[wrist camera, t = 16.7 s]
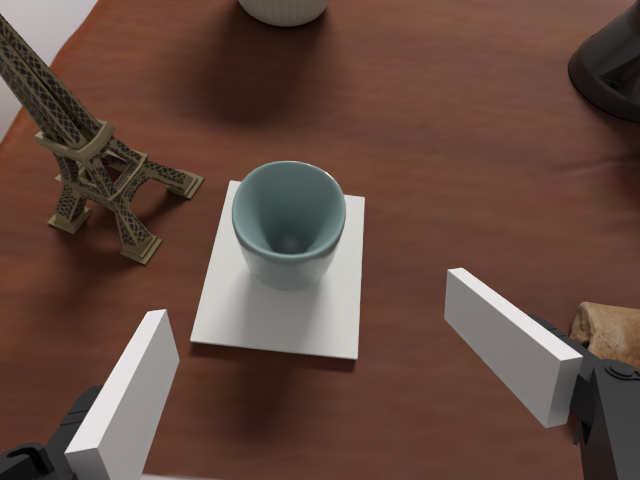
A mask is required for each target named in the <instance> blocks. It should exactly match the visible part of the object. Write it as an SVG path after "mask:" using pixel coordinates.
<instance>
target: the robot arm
mask: <svg viewBox="0 0 640 480" xmlns="http://www.w3.org/2000/svg"><path fill="white" fill-rule="evenodd" d="M569 73H570V76H571V78H572V80H573V82H574V84H575V85H576V87H577V88H578V89H579V91H580V92H581V93H582V94H583V95H584V96H585V97H586V98H587V99H589V100H590V101H591V102H592V103H594V104H595V105H596V106H598V107H600V108H601V109H603V110H605V111H607V112H608V113H611V114H613V115H615V116H618V117H620V118H623V119H627V120H630V121H635V122H640V0H637V1H636V2H635V3H634V4H633V5H632V6H631V7H630V8H629V9H627V10H626V11H625V12H623V13H622V14H621V15H619V16H618V17H617V18H615V19H614V20H613V21H611V22H610V23H609V24H608V25H606V26H605V27H604V28H603V29H601V30H600V31H599V32H598V33H595V34H594V35H592V36H591V37H589V38H588V39H586V40H585V41H584V42H583V43H582V45H581V46H580V47H579V48H578V49H577V51H576V52H575V53H574V54H573V55H572V57H571V59H570V61H569ZM444 319H445V320H446V321H447V322H448V323H449V324H450V325H451V326H452V327H453V328H454V329H455V330H456V332H457V333H458V334H459V335H460V336H461V337H462V338H463V339H464V340H465V341H466V342H467V343H468V345H469V346H470V347H471V348H472V349H473V350H474V351H475V352H476V353H477V354H478V355H479V356H480V358H481V359H482V360H483V361H484V362H485V363H486V364H487V365H488V366H489V367H490V368H491V369H492V370H493V372H494V373H495V374H496V375H497V376H498V377H499V378H500V379H501V380H502V381H503V382H504V383H505V385H506V386H507V387H508V388H509V389H510V390H511V391H512V392H513V393H514V394H515V395H516V396H517V398H518V399H519V400H520V401H521V402H522V403H523V404H524V405H525V406H526V407H527V408H528V409H529V410H530V412H531V413H532V414H533V415H534V416H535V417H536V418H537V419H538V420H539V421H540V422H541V423H542V425H543V426H544V427H545V428H549V427H553V426H558V425H563V424H566V423H567V419H568V415H569V411H570V410H571V411H572V412H573V413H575V414H576V415H577V416H578V417H579V418H580V419H579V423H578V426H577V430H576V434H575V437H574V442H573V444H574V445H577V444H578V441H579V442H580V450H581V458H582V466H583V474H584V480H640V370H638V369H637V368H635V367H633V366H631V365H629V364H627V363H624V362H621V361H618V360H613V359H600V358H598V357H597V356H596V355H594V354H593V353H591V352H590V351H588V350H587V349H586V348H584V347H583V346H581V345H580V344H578V343H577V342H576V341H574V340H573V339H571V338H570V337H569V336H568V337H567V336H566V334H564V333H563V332H561V331H560V330H557V328H556V327H554V326H553V325H551V324H550V323H549V322H547V321H546V320H544V319H541V318H539V317H537V316H535V315H532V314H527V315H526V314H525V313H523V312H522V311H520V310H519V309H518V308H516V307H515V306H514V305H512V304H511V303H510V302H508V301H507V300H505V299H504V298H503V297H501V296H500V295H499V294H497V293H496V292H495V291H493V290H492V289H490V288H489V287H488V286H486V285H485V284H484V283H482V282H481V281H480V280H478V279H477V278H476V277H474V276H473V275H471V274H470V273H469V272H467V271H466V270H465V269H463V268H457V269H450V270H448V273H447V286H446V300H445V314H444ZM178 363H179V357H178V353H177V349H176V346H175V342H174V338H173V334H172V330H171V326H170V323H169V319H168V315H167V311H166V309H164V310H157V311H149V312H147V313H146V315H145V317H144V319H143V320H142V322H141V324H140V325H139V327H138V329H137V330H136V332H135V334H134V336H133V337H132V339H131V341H130V342H129V344H128V346H127V347H126V349H125V351H124V353H123V354H122V356H121V358H120V359H119V361H118V363H117V364H116V366H115V368H114V370H113V371H112V373H111V375H110V376H109V378H108V380H107V382H106V383H105V385H100V386H94V387H90V388H89V389H88V390H87V391H86V392H85V393H83V394H82V395H81V396H80V397H79V398H78V399H77V400H76V401H75V403H74V404H73V406H72V407H71V409H70V410H69V412H68V415H67V416H65V418H64V420H63V421H62V423H61V424H60V427H59V428H58V429H57V430H56V432H55V433H54V435H53V436H52V438H51V439H50V441H49V442H48V444H47V445H46V447H45V448H44V447H43V446H42V445H41V444H40V443H27V444H23V445H19V446H17V447H15V448H13V449H11V450H8V451H6V452H5V453H3V454H2V455H0V480H139V479H140V476H141V473H142V470H143V467H144V464H145V461H146V458H147V455H148V452H149V449H150V447H151V444H152V441H153V438H154V435H155V432H156V429H157V426H158V423H159V420H160V417H161V414H162V411H163V408H164V405H165V402H166V399H167V396H168V393H169V390H170V387H171V384H172V381H173V378H174V375H175V372H176V369H177V366H178Z"/></svg>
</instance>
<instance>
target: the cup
mask: <svg viewBox="0 0 640 480" xmlns="http://www.w3.org/2000/svg"><path fill="white" fill-rule="evenodd" d="M345 220H346V204H345V199H344V195H343V193H342V190H341V188H340V186H339V185H338V183H337V182H336V181H335V179H334V178H332V177H331V176H330V175H329V174H328V173H327V172H325V171H323V170H321V169H319V168H318V167H315V166H312V165H310V164H306V163H301V162H295V161H279V162H273V163H268V164H265V165H263V166H260V167H258V168H256V169H255V170H253V171H252V172H251V173H249V174H248V175H247V176H246V177H245V179H244V180H243V181H242V182H241V184H240V185H239V187H238V189H237V191H236V194H235V196H234V199H233V205H232V225H233V228H234V232H235V236H236V239H237V242H238V245H239V248H240V251H241V254H242V256H243V258H244V260H245V262H246V264H247V266H248V268H249V269H250V271H251V272H252V274H253V275H254V276H255V277H256V278H257V279H258V280H259V281H261V282H262V283H264V284H265V285H267V286H269V287H271V288H274V289H277V290H282V291H299V290H303V289H306V288H309V287H311V286H312V285H314V284H316V283H317V282H318V281H319V280H320V279H321V278H322V277H323V276H324V275H325V274H326V272H327V271H328V269H329V267H330V266H331V264H332V262H333V259H334V257H335V254H336V252H337V249H338V246H339V243H340V240H341V237H342V234H343V230H344V225H345Z"/></svg>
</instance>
